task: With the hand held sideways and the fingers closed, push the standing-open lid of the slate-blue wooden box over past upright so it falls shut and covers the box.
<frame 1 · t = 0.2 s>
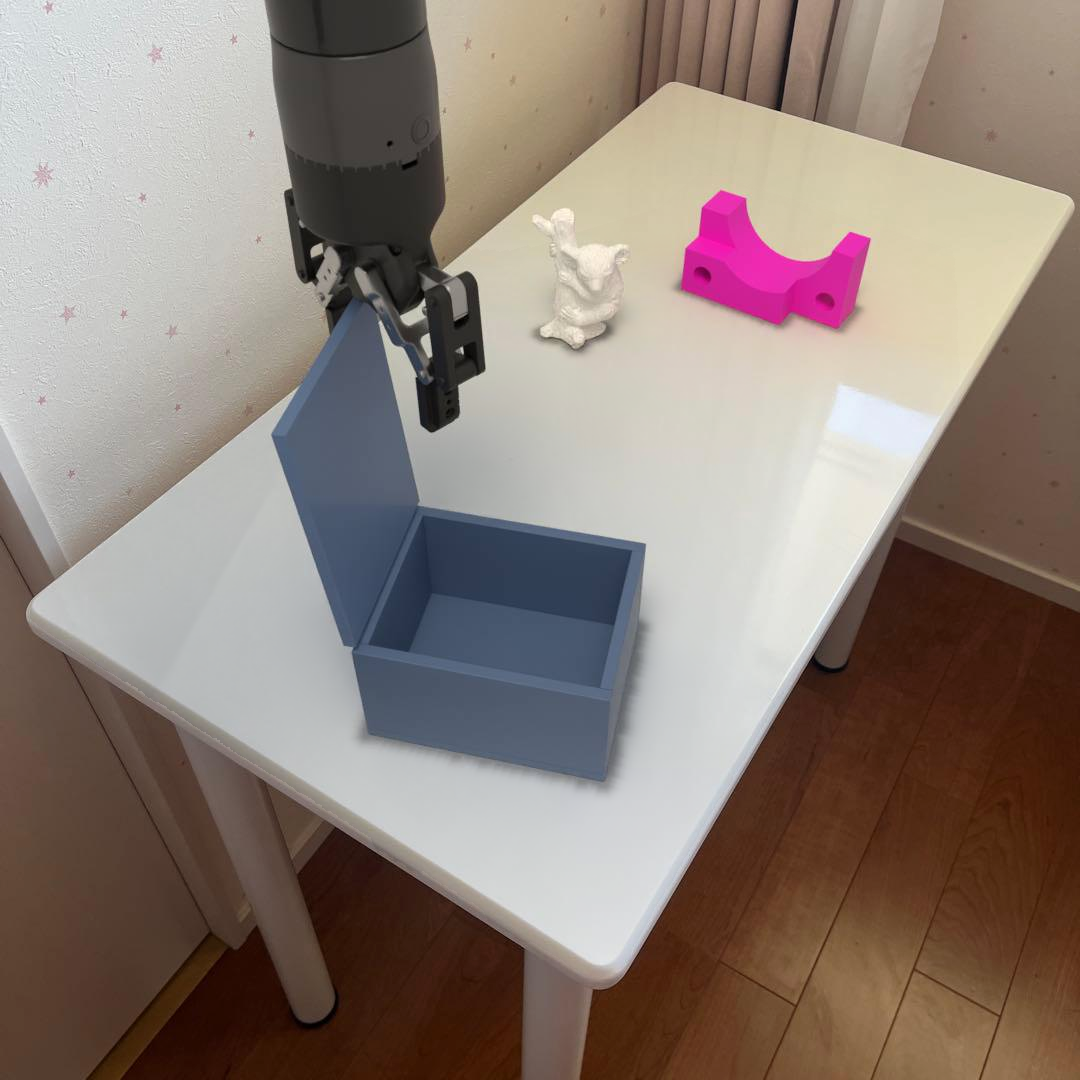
hand: (394, 388, 64), 20 cm above the table, tool pointing down, fingers open, 8 cm apart
blue box: (508, 679, 75), on the table
box lid: (356, 472, 63), point 17 cm above the table, hinge at 95.0°
koala figurine: (578, 335, 101), on the table
magenta pillow block: (766, 300, 105), on the table
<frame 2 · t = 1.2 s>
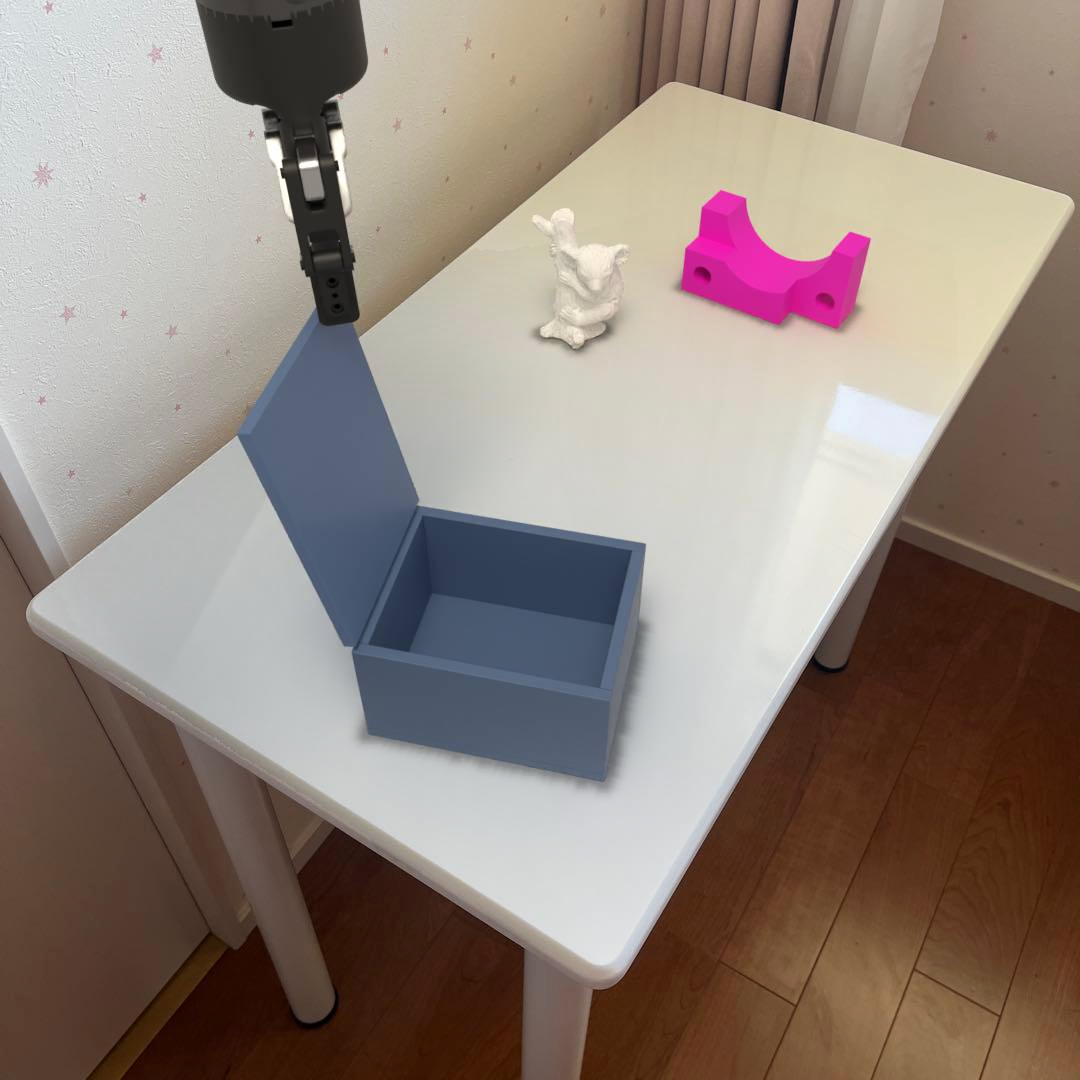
hand: (333, 278, 63), 25 cm above the table, tool pointing down, fingers open, 8 cm apart
box lid: (341, 471, 63), point 17 cm above the table, hinge at 101.6°, touching gripper
everything else where it was.
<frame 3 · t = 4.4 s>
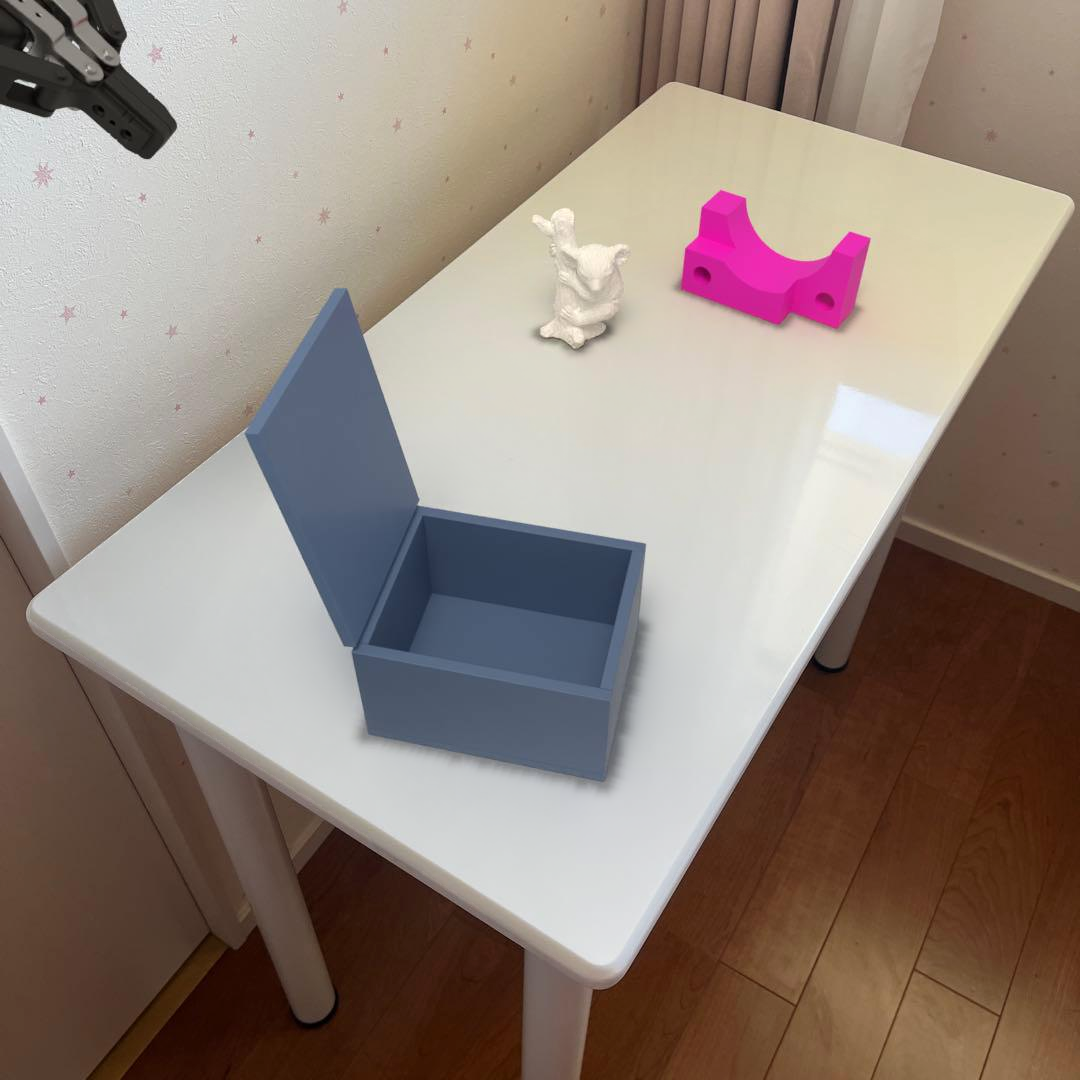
hand: (163, 143, 56), 34 cm above the table, tool tilted 45°, fingers closed
box lid: (345, 471, 63), point 17 cm above the table, hinge at 100.1°
everything else where it was.
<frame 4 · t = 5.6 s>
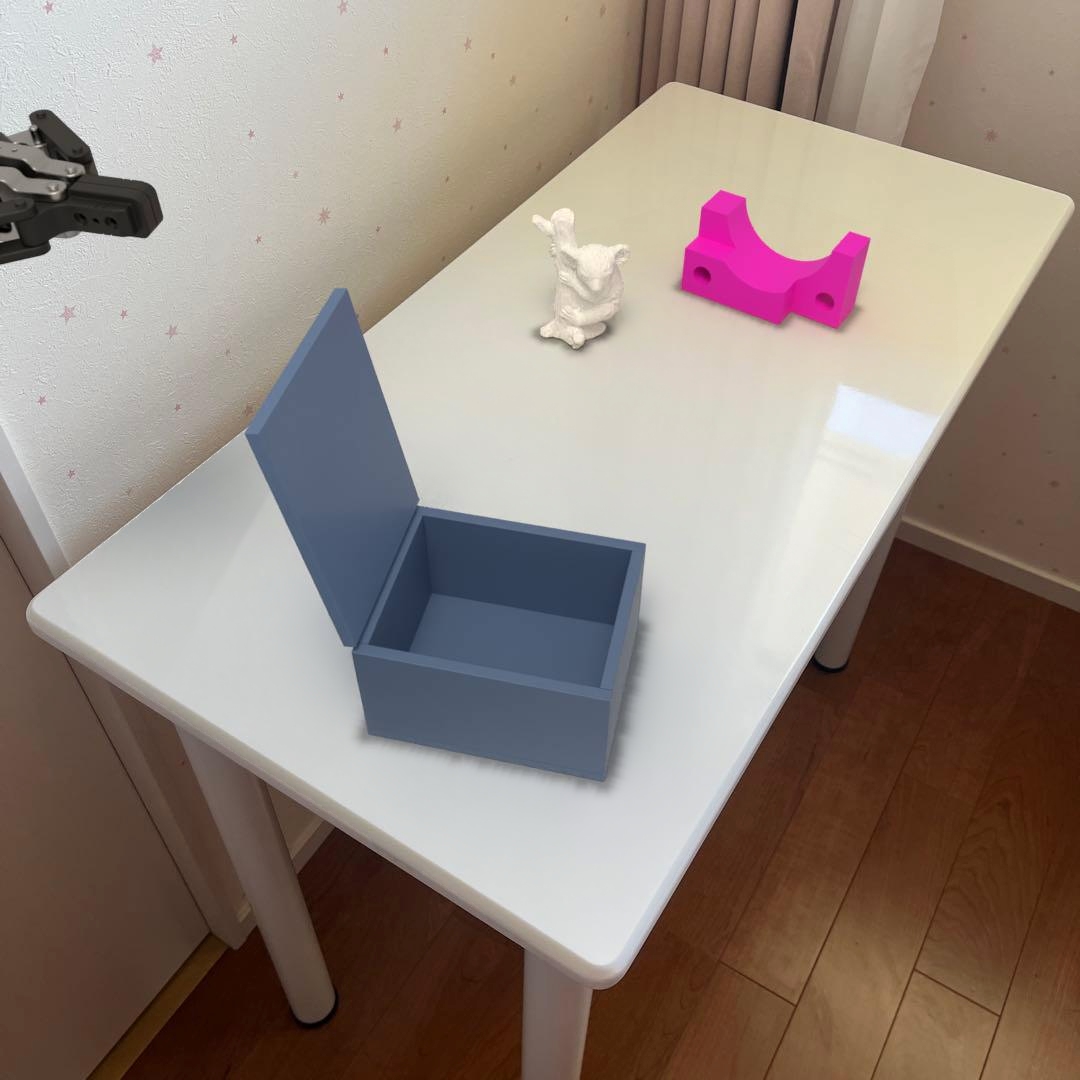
hand: (152, 211, 53), 33 cm above the table, tool horizontal, fingers closed
nothing on the table moved.
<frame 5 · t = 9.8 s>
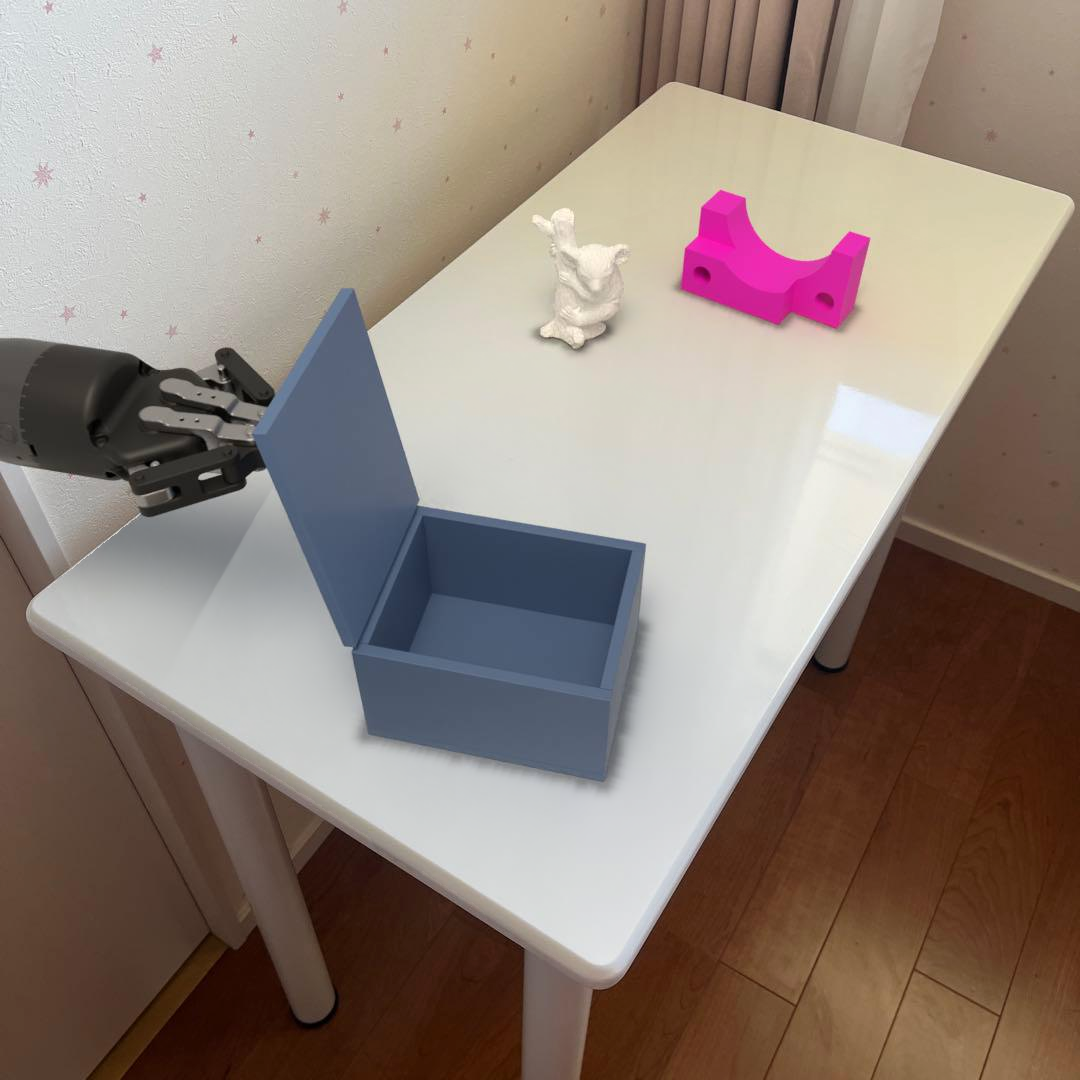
hand: (332, 450, 62), 19 cm above the table, tool horizontal, fingers closed
box lid: (348, 471, 63), point 17 cm above the table, hinge at 98.5°, touching gripper
everything else where it was.
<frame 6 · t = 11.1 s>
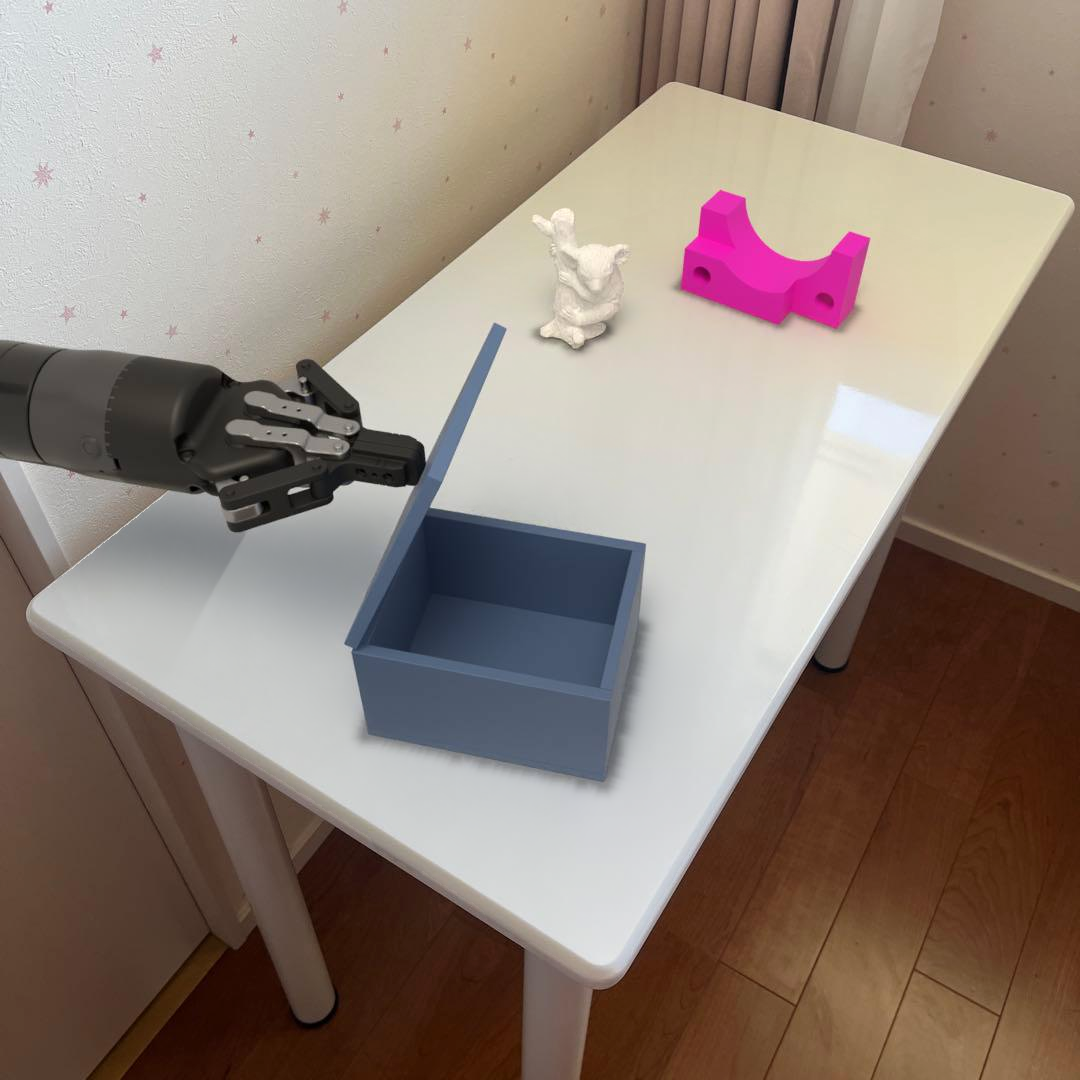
hand: (420, 464, 62), 19 cm above the table, tool horizontal, fingers closed
box lid: (423, 490, 63), point 17 cm above the table, hinge at 67.1°
everything else where it was.
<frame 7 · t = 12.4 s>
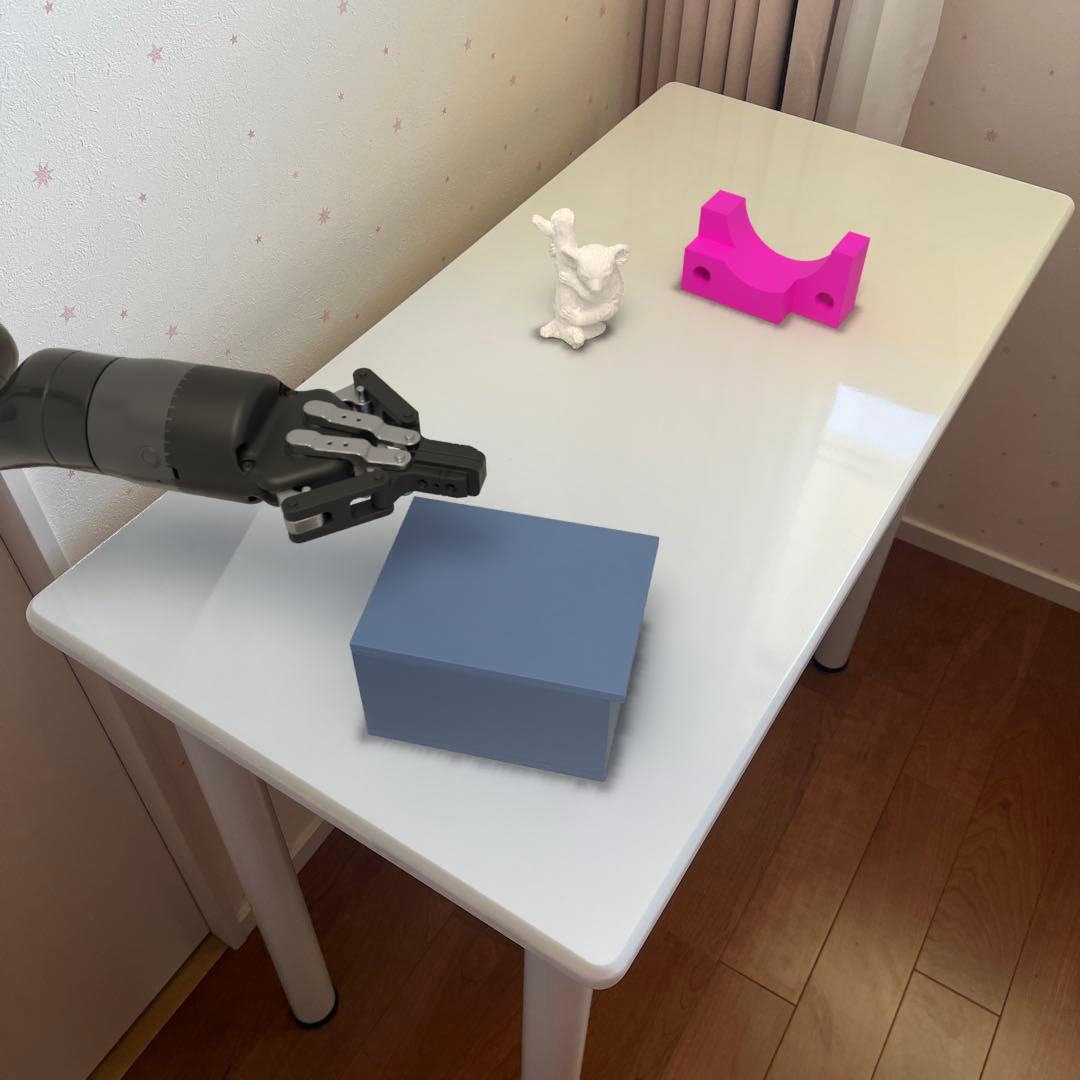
hand: (482, 475, 61), 19 cm above the table, tool horizontal, fingers closed
box lid: (511, 591, 68), point 9 cm above the table, hinge at -0.1°
everything else where it was.
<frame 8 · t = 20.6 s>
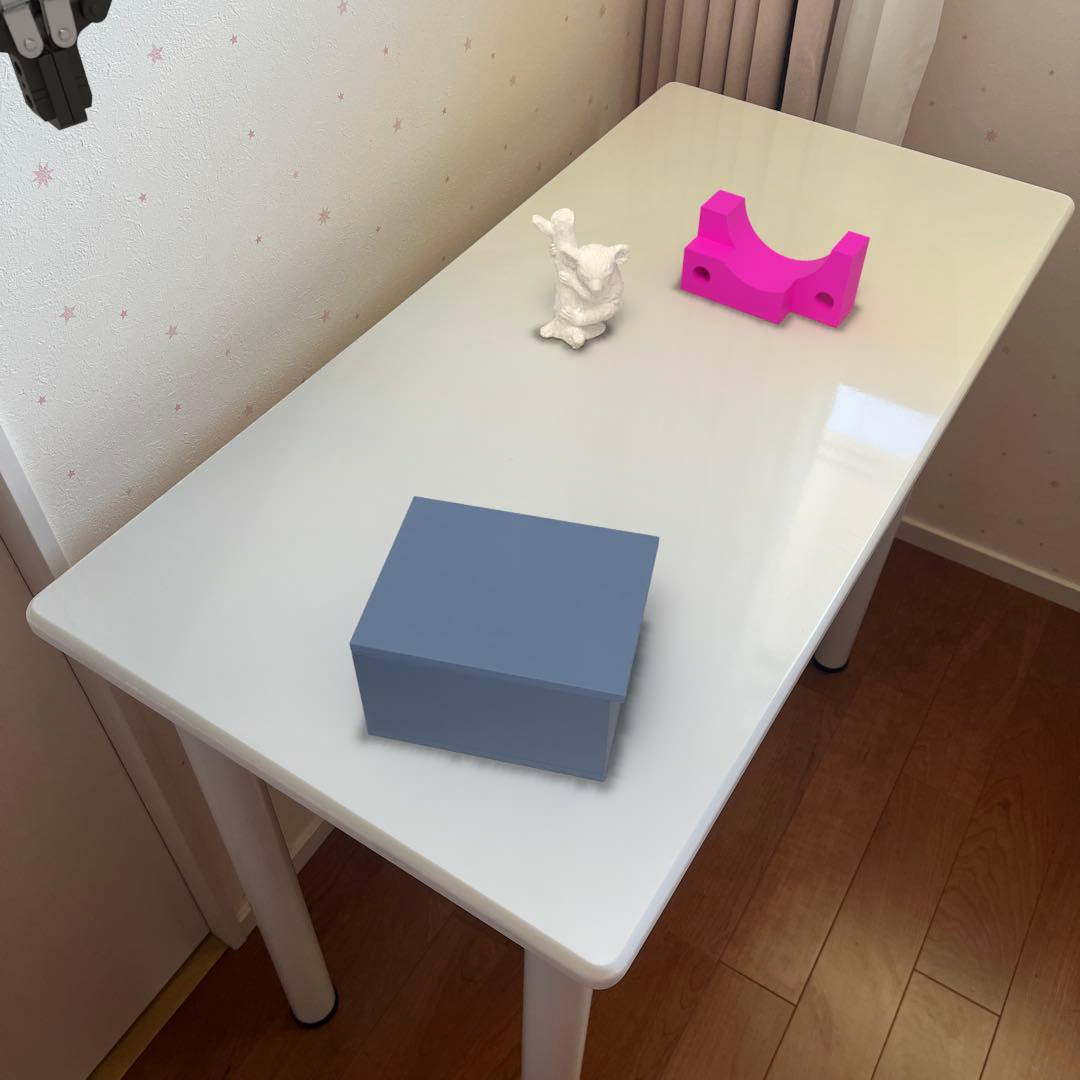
hand: (65, 120, 55), 35 cm above the table, tool pointing down, fingers closed
nothing on the table moved.
at the end: box lid at +0° (first picture: +95°) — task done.
